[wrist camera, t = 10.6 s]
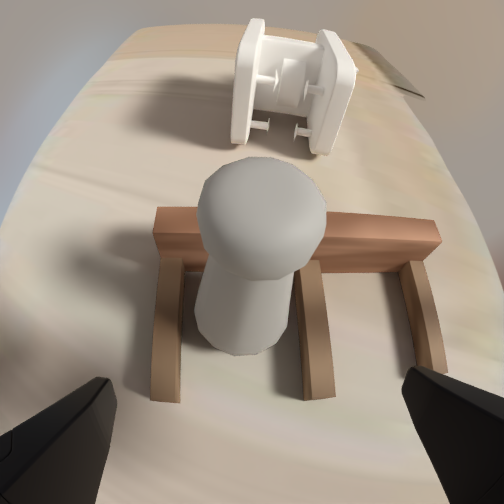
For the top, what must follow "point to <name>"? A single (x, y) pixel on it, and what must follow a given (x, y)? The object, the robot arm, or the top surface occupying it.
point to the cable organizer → (292, 84)
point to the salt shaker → (254, 250)
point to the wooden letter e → (302, 290)
